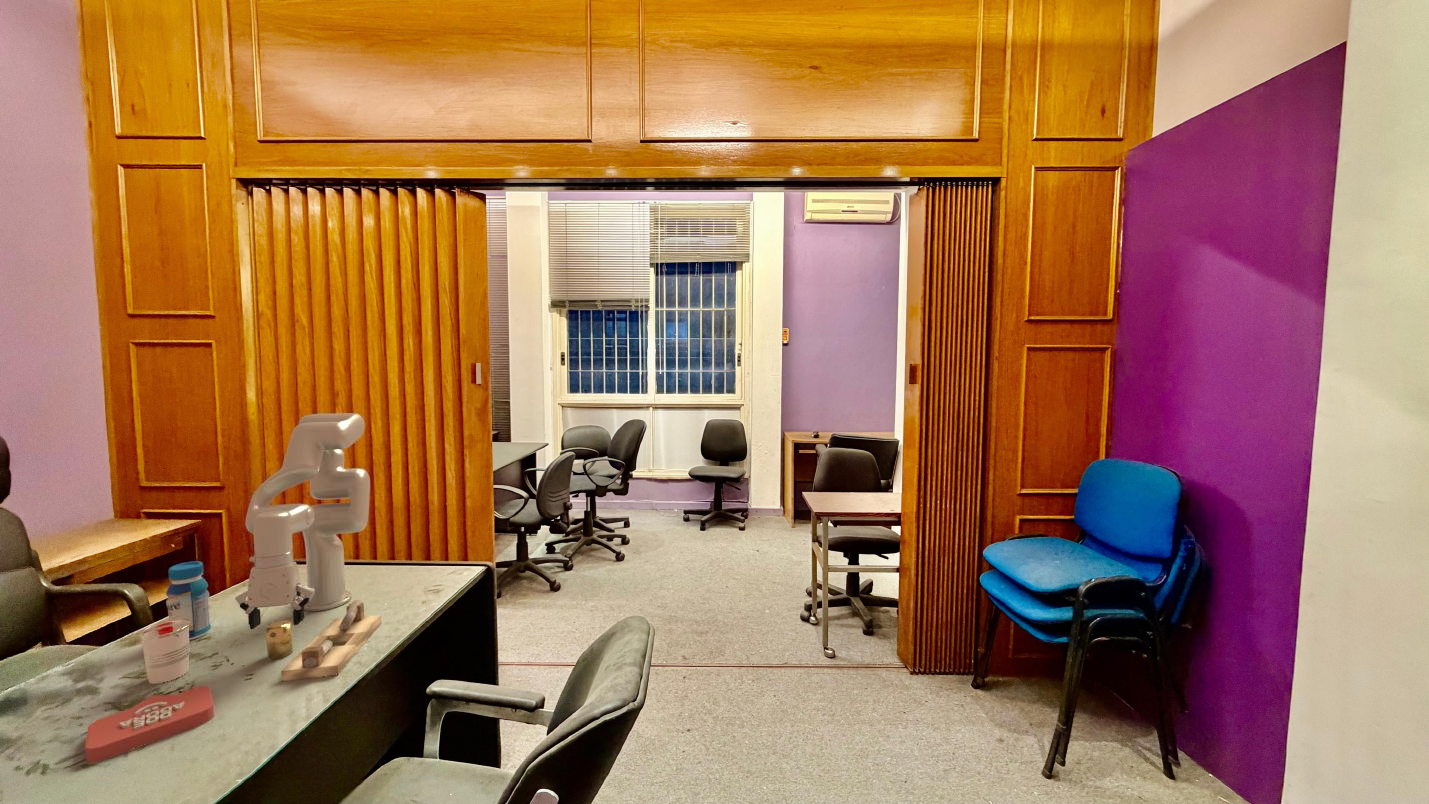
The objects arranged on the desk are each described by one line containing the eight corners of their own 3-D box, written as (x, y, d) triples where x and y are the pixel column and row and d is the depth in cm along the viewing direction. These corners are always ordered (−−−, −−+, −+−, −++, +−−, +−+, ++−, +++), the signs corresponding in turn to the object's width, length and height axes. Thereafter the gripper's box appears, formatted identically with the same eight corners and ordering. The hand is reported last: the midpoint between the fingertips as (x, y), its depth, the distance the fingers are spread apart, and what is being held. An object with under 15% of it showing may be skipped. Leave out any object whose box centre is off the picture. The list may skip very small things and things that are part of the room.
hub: (261, 662, 134) (259, 632, 133) (275, 650, 139) (273, 621, 139) (284, 660, 135) (282, 630, 134) (297, 648, 140) (295, 619, 140)
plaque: (208, 675, 123) (214, 704, 112) (209, 691, 123) (215, 721, 113) (89, 713, 109) (83, 749, 99) (91, 730, 110) (85, 768, 100)
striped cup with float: (203, 669, 131) (200, 623, 130) (158, 689, 123) (154, 640, 122) (178, 662, 134) (175, 616, 133) (133, 681, 126) (129, 632, 125)
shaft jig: (281, 680, 126) (279, 649, 126) (335, 626, 152) (334, 600, 151) (338, 675, 129) (336, 644, 128) (381, 622, 154) (380, 596, 154)
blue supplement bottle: (215, 633, 148) (210, 564, 146) (172, 646, 141) (166, 574, 139) (207, 624, 153) (203, 557, 151) (166, 636, 146) (160, 566, 144)
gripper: (224, 567, 130) (227, 635, 131) (304, 562, 133) (307, 628, 134) (244, 557, 137) (247, 621, 138) (320, 552, 141) (322, 615, 141)
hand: (277, 624), depth 136 cm, fingers open, 9 cm apart
